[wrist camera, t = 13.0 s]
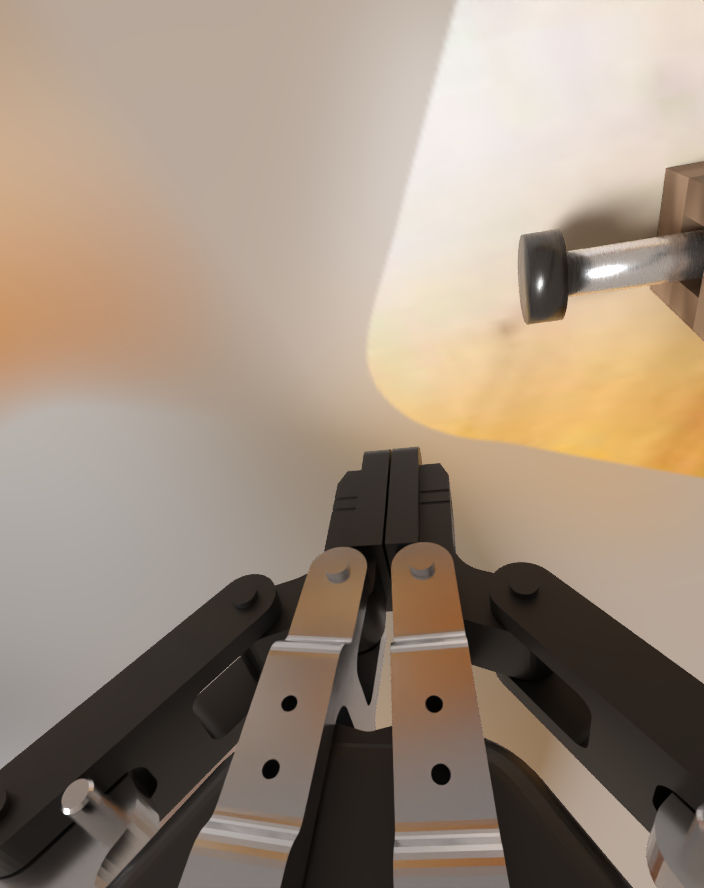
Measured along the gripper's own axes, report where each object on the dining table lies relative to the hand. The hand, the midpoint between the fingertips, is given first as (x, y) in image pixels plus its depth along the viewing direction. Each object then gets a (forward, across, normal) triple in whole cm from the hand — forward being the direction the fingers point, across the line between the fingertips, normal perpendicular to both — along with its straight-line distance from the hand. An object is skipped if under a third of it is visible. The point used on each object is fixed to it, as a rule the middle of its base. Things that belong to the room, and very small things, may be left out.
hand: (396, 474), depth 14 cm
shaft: (+16, -10, 0) cm, 19 cm away
